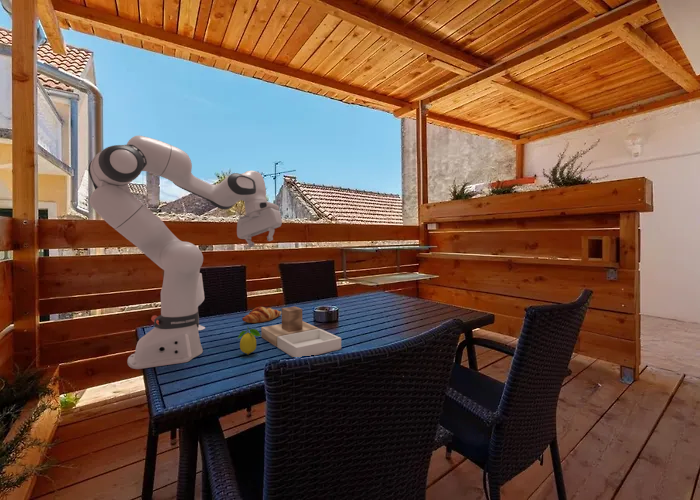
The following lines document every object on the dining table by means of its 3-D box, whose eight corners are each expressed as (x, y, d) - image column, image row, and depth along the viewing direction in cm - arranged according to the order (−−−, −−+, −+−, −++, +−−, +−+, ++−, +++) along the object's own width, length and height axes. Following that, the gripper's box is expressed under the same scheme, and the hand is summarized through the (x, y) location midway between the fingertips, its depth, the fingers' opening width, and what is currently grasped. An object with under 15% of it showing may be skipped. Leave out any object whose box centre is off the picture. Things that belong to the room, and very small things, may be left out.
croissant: (277, 322, 176) (272, 307, 178) (288, 315, 170) (283, 300, 172) (239, 330, 160) (235, 313, 163) (250, 323, 154) (246, 306, 156)
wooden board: (276, 346, 128) (276, 335, 128) (261, 337, 140) (261, 327, 139) (318, 337, 139) (318, 327, 139) (301, 329, 150) (301, 320, 150)
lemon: (261, 355, 120) (260, 326, 119) (244, 359, 116) (244, 329, 115) (253, 350, 125) (252, 322, 124) (236, 353, 121) (236, 325, 120)
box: (296, 359, 115) (296, 347, 115) (277, 347, 128) (277, 336, 127) (341, 348, 126) (341, 338, 126) (319, 338, 138) (319, 328, 138)
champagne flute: (184, 329, 150) (183, 274, 149) (198, 325, 156) (196, 272, 155) (195, 331, 147) (194, 275, 146) (208, 327, 153) (207, 273, 152)
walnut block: (288, 331, 133) (288, 311, 133) (281, 328, 138) (281, 308, 138) (302, 329, 137) (302, 309, 136) (295, 325, 142) (295, 306, 141)
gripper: (231, 216, 141) (234, 249, 137) (271, 200, 132) (276, 235, 129) (242, 219, 146) (246, 251, 143) (282, 204, 138) (286, 238, 135)
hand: (260, 243), depth 136 cm, fingers open, 8 cm apart
